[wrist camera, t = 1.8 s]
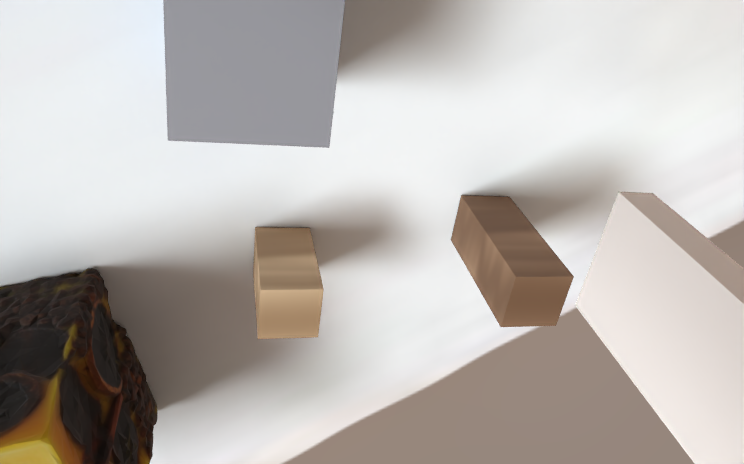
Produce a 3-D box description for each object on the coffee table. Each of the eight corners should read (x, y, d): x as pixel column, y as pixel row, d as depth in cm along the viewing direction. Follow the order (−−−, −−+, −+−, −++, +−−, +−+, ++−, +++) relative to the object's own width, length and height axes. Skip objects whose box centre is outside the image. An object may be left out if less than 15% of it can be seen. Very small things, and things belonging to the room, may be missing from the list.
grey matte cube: (176, -65, 23) (162, -35, 17) (318, -48, 24) (346, -14, 19) (179, 75, 25) (168, 140, 20) (307, 84, 27) (329, 147, 21)
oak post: (255, 227, 30) (260, 290, 26) (309, 227, 30) (323, 289, 26) (253, 272, 31) (257, 339, 27) (305, 272, 32) (317, 337, 28)
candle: (99, 262, 29) (50, 429, 21) (164, 409, 35) (146, 587, 26) (-132, 310, 28) (-279, 506, 20) (-27, 453, 34) (-108, 654, 25)
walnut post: (461, 195, 31) (516, 276, 25) (509, 196, 32) (573, 276, 26) (450, 239, 32) (500, 327, 27) (497, 240, 33) (555, 325, 27)
